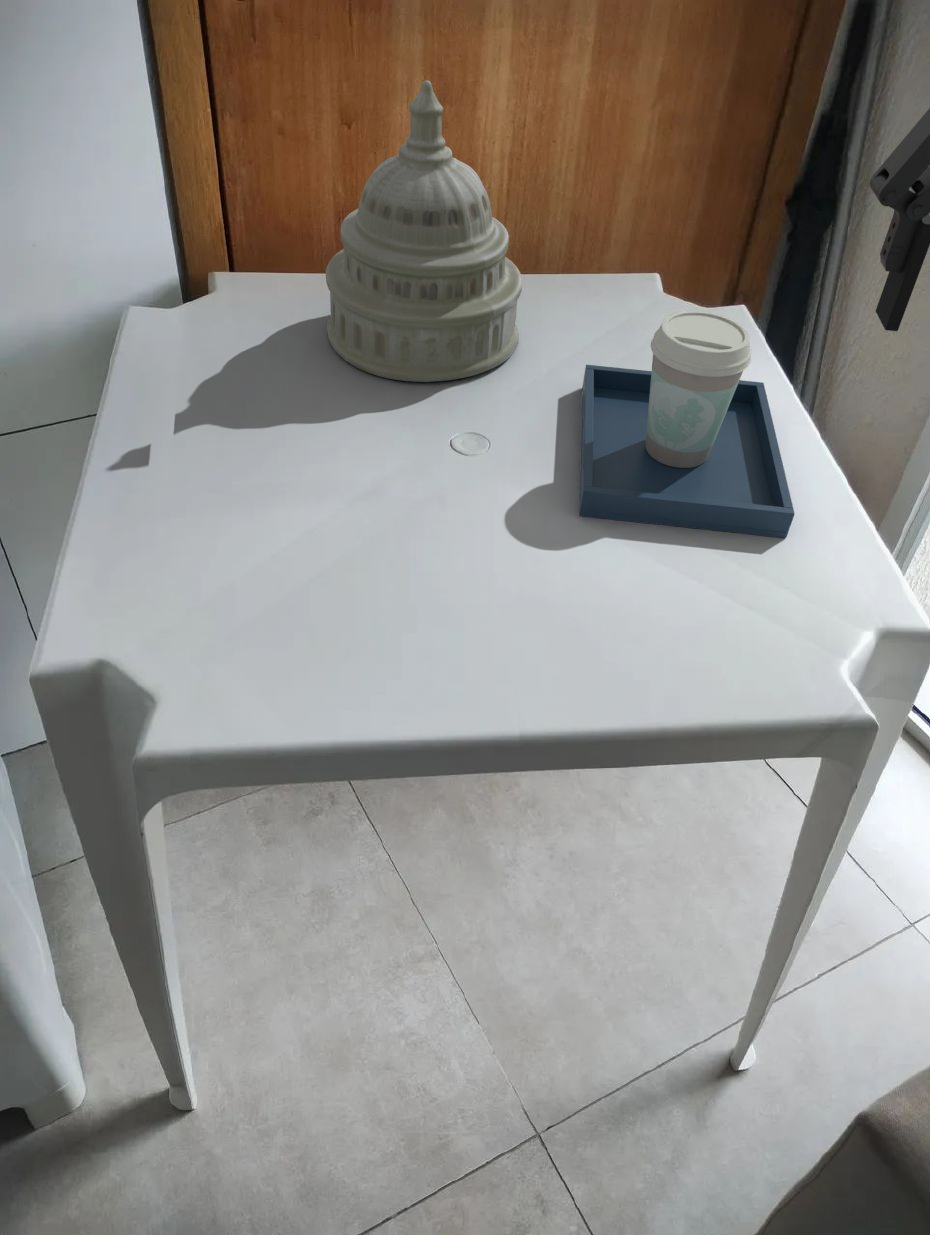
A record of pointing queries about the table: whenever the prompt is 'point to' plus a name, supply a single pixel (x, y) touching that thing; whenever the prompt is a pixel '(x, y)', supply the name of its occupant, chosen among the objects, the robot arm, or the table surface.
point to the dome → (423, 266)
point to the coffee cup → (692, 384)
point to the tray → (685, 497)
